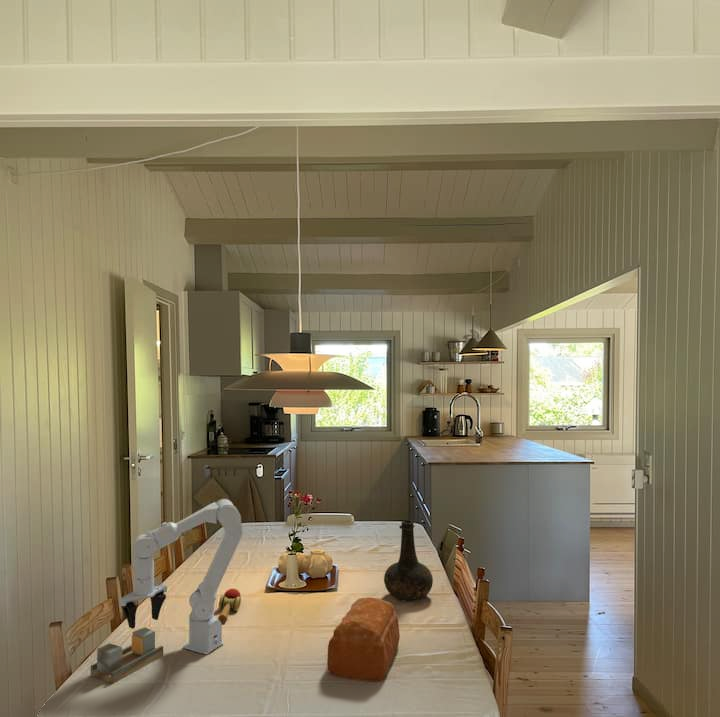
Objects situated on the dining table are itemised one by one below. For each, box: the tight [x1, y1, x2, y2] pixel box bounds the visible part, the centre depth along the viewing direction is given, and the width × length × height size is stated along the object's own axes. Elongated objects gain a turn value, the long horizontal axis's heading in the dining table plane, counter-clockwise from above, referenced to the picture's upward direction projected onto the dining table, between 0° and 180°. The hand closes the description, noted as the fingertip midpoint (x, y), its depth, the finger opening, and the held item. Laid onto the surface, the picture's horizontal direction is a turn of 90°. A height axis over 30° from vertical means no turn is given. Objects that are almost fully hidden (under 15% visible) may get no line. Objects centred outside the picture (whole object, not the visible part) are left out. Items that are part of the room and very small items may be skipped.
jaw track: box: [89, 642, 164, 684], centre depth 176 cm, size 9×18×8 cm, turn 152°
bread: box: [326, 597, 401, 682], centre depth 180 cm, size 17×24×15 cm
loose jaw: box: [131, 627, 156, 656], centre depth 181 cm, size 5×4×6 cm
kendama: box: [217, 588, 242, 624], centre depth 214 cm, size 8×6×18 cm
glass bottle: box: [383, 519, 434, 602], centre depth 228 cm, size 18×18×28 cm
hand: (143, 623), depth 182 cm, fingers open, 7 cm apart
